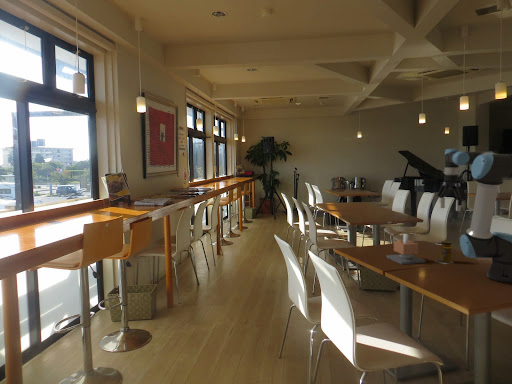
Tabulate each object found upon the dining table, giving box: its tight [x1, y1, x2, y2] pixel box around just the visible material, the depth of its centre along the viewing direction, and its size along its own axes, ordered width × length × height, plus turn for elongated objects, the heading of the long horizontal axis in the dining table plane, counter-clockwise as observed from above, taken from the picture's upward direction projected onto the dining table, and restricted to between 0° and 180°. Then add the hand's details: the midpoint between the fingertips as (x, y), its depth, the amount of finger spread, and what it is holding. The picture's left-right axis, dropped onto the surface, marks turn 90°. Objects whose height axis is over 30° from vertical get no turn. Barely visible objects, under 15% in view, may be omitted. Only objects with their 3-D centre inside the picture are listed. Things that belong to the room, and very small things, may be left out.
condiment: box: [435, 240, 455, 265], centre depth 223 cm, size 7×8×12 cm
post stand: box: [385, 233, 427, 265], centre depth 227 cm, size 16×16×16 cm
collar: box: [393, 240, 419, 255], centre depth 227 cm, size 10×10×6 cm
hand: (450, 209), depth 228 cm, fingers open, 13 cm apart
